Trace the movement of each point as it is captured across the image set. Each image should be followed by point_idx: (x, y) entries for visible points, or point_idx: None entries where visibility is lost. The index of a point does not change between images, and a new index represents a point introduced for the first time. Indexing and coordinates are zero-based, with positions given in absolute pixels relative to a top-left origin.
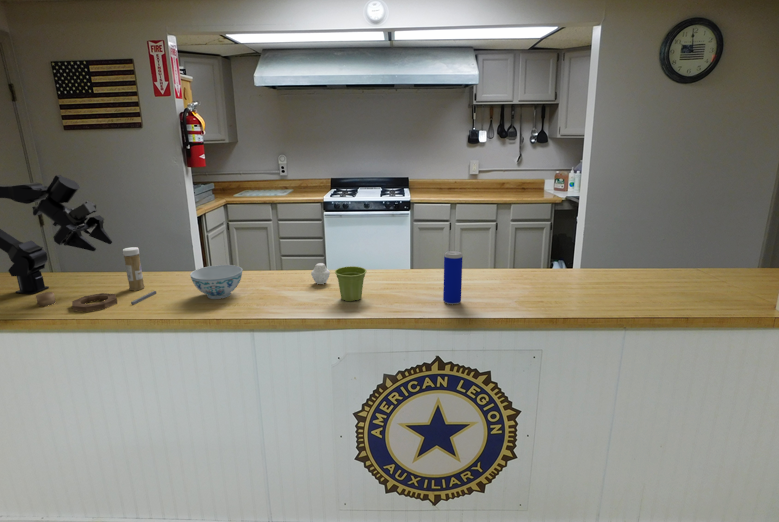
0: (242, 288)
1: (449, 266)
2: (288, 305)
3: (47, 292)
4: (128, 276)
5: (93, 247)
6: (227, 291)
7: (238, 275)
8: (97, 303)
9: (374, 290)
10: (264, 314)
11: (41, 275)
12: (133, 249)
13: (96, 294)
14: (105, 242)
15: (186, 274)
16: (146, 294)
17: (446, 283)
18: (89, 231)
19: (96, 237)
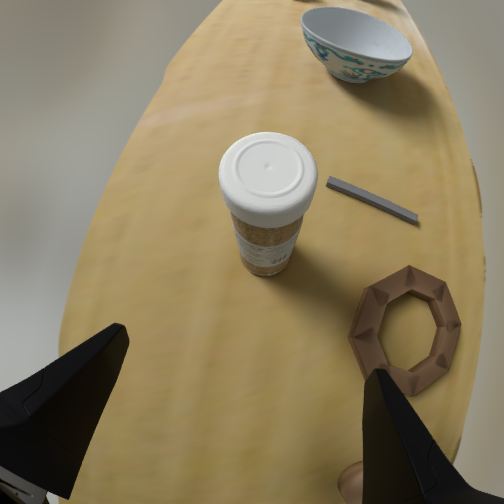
0: (305, 45)
1: None
2: None
3: (349, 496)
4: (290, 251)
5: (394, 381)
6: (372, 50)
7: (366, 17)
8: (442, 304)
9: None
10: (419, 47)
11: None
12: (298, 144)
13: (364, 351)
14: (117, 377)
15: (146, 147)
16: (359, 195)
17: None
18: (42, 502)
19: (81, 449)
